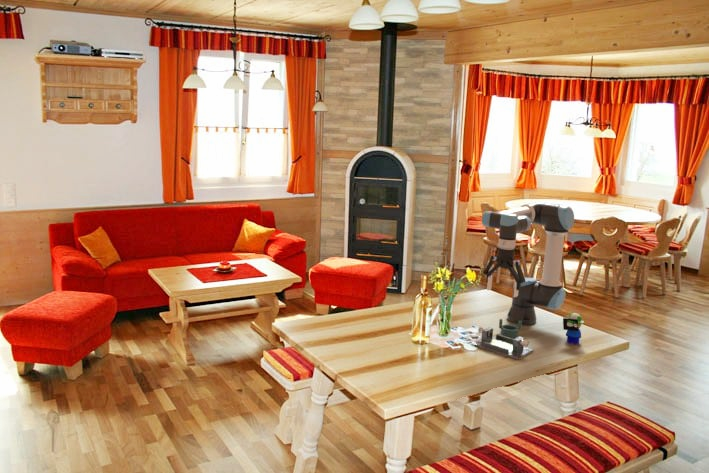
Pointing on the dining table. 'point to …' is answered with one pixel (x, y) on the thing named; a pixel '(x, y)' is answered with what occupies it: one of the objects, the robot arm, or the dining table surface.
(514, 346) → the shaft bench
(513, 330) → the bracket
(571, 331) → the toy
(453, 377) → the dining table surface
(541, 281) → the robot arm
